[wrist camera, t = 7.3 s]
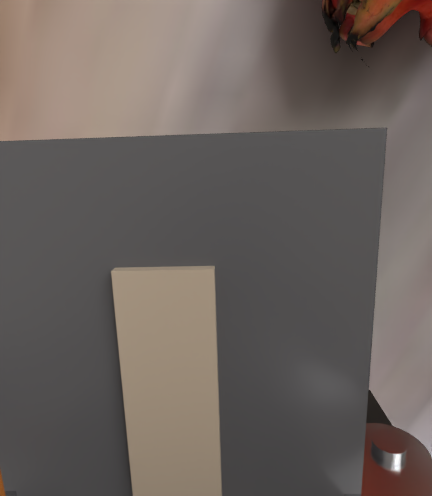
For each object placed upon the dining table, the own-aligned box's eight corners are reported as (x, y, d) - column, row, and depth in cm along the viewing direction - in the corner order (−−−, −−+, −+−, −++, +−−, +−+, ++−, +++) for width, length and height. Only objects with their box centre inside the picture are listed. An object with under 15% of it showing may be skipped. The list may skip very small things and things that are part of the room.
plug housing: (291, 152, 10) (393, 126, 4) (286, 511, 12) (340, 840, 6) (110, 158, 10) (-74, 142, 4) (142, 510, 12) (62, 825, 6)
